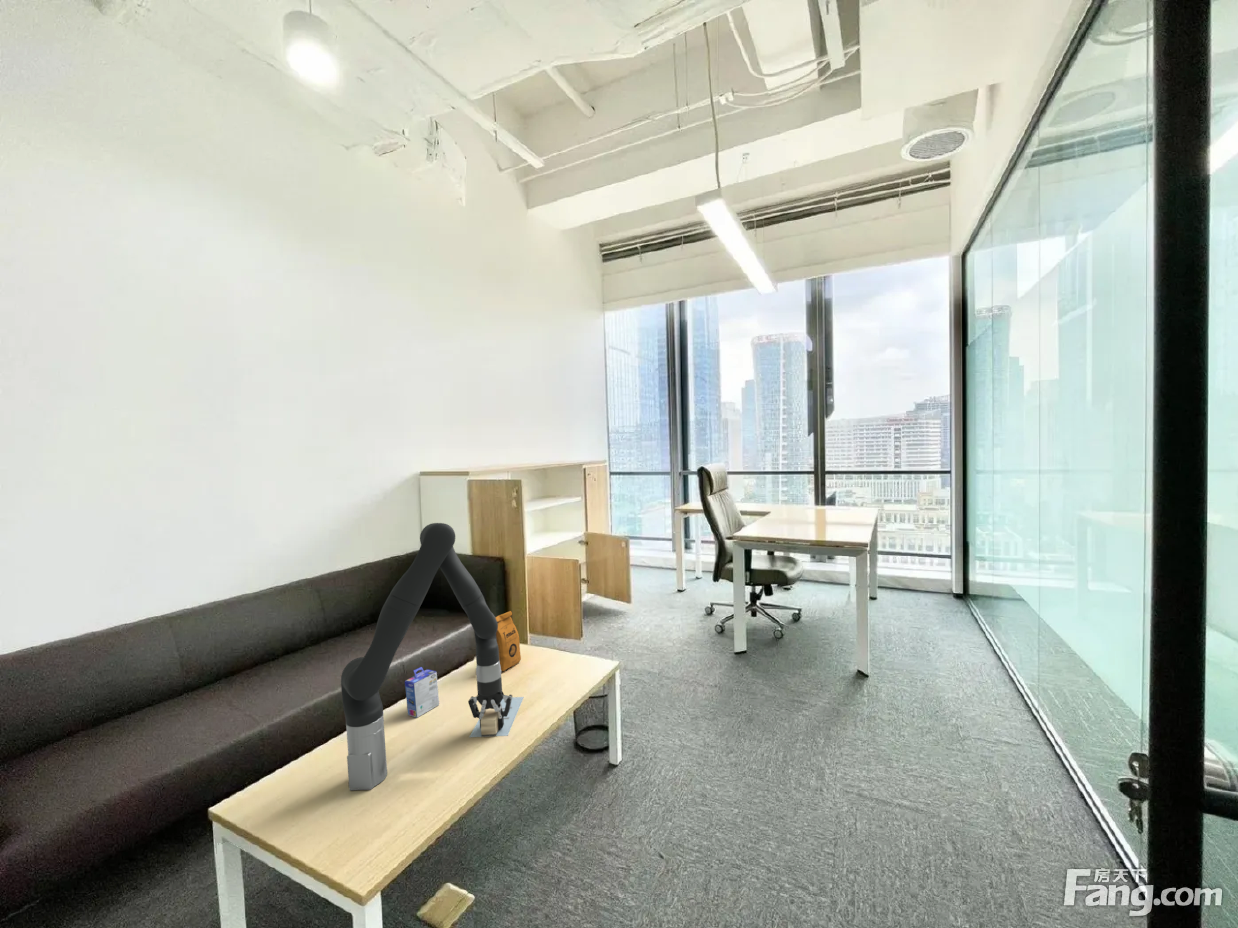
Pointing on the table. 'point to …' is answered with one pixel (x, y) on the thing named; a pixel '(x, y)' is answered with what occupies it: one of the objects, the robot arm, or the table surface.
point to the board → (507, 720)
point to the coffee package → (507, 641)
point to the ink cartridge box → (421, 692)
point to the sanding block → (489, 723)
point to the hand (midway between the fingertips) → (492, 728)
